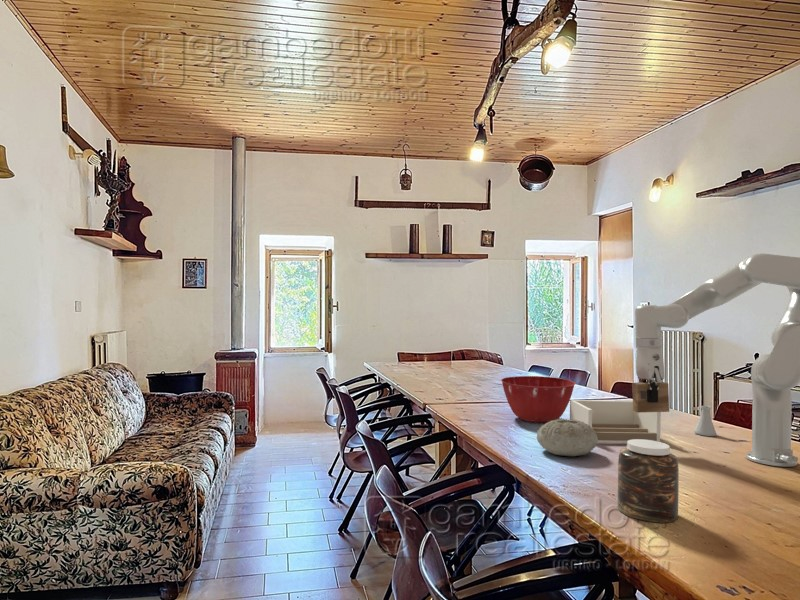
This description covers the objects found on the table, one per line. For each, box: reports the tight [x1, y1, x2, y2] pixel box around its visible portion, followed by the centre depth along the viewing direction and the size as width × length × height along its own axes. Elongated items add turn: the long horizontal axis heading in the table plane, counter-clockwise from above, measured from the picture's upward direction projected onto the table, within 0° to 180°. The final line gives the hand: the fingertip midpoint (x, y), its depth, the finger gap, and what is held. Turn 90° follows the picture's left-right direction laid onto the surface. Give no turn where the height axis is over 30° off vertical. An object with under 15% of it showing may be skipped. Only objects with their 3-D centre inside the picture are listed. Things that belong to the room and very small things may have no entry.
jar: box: [617, 439, 680, 524], centre depth 117 cm, size 12×12×15 cm
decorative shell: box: [536, 418, 599, 457], centre depth 164 cm, size 18×18×10 cm
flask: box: [693, 405, 718, 437], centre depth 192 cm, size 7×7×10 cm
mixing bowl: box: [500, 375, 576, 424], centre depth 212 cm, size 28×28×16 cm
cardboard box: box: [631, 381, 670, 413], centre depth 171 cm, size 4×10×9 cm, turn 91°
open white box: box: [569, 399, 662, 445], centre depth 185 cm, size 18×24×11 cm
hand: (649, 400), depth 171 cm, fingers closed on cardboard box, 3 cm apart
